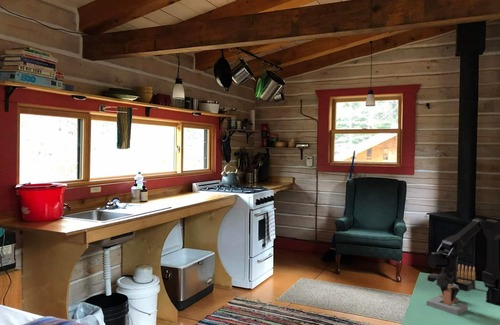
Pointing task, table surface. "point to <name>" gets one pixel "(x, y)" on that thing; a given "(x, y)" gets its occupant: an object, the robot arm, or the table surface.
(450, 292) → the tab
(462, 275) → the ammunition clip
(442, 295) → the brown door knob
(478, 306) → the table surface
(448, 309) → the notched board
